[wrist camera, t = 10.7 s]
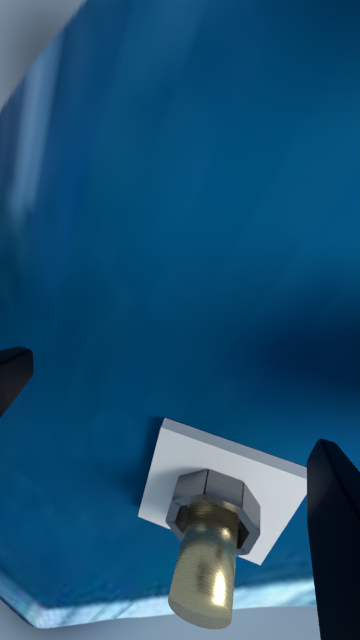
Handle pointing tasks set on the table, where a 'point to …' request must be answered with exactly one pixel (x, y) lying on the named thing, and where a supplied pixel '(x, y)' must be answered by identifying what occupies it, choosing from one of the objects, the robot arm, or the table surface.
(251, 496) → the socket collar
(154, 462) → the socket base
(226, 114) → the table surface
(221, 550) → the brass cylinder
